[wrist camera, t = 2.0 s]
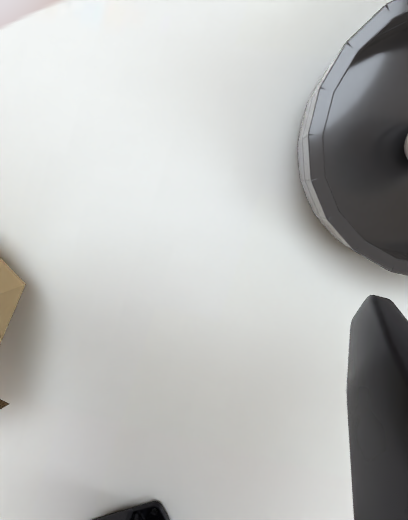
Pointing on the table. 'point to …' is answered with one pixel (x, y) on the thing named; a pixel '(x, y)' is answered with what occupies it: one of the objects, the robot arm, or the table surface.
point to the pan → (362, 141)
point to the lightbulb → (406, 147)
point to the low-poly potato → (8, 299)
